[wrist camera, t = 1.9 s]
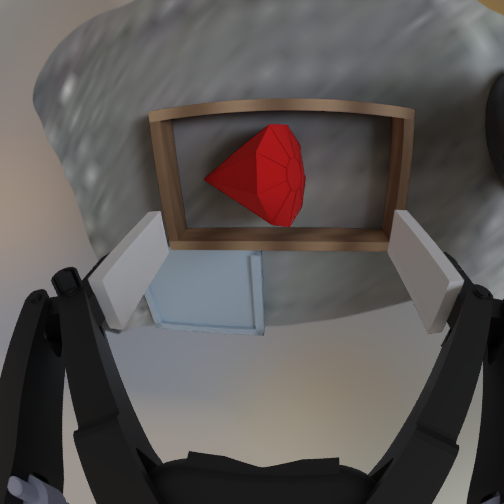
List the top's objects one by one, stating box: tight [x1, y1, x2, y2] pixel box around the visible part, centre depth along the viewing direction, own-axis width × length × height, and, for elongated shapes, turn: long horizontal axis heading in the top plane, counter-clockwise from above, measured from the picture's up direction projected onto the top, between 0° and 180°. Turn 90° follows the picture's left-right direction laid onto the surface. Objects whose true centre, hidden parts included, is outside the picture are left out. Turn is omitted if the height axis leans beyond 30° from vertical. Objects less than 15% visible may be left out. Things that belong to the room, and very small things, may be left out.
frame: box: [148, 98, 415, 251], centre depth 25 cm, size 23×14×3 cm, turn 93°
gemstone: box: [204, 124, 306, 227], centre depth 25 cm, size 9×9×10 cm
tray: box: [144, 240, 265, 335], centre depth 34 cm, size 15×13×2 cm
